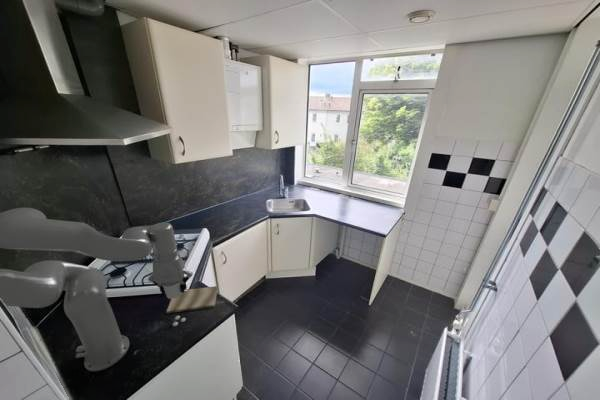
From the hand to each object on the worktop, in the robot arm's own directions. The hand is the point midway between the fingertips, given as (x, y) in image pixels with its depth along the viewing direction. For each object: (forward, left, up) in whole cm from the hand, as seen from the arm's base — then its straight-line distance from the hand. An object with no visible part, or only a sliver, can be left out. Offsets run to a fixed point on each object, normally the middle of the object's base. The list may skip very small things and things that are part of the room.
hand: (174, 291), depth 90 cm
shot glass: (0, 0, -1) cm, 1 cm away
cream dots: (0, -1, -16) cm, 16 cm away
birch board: (+4, +10, -16) cm, 19 cm away
